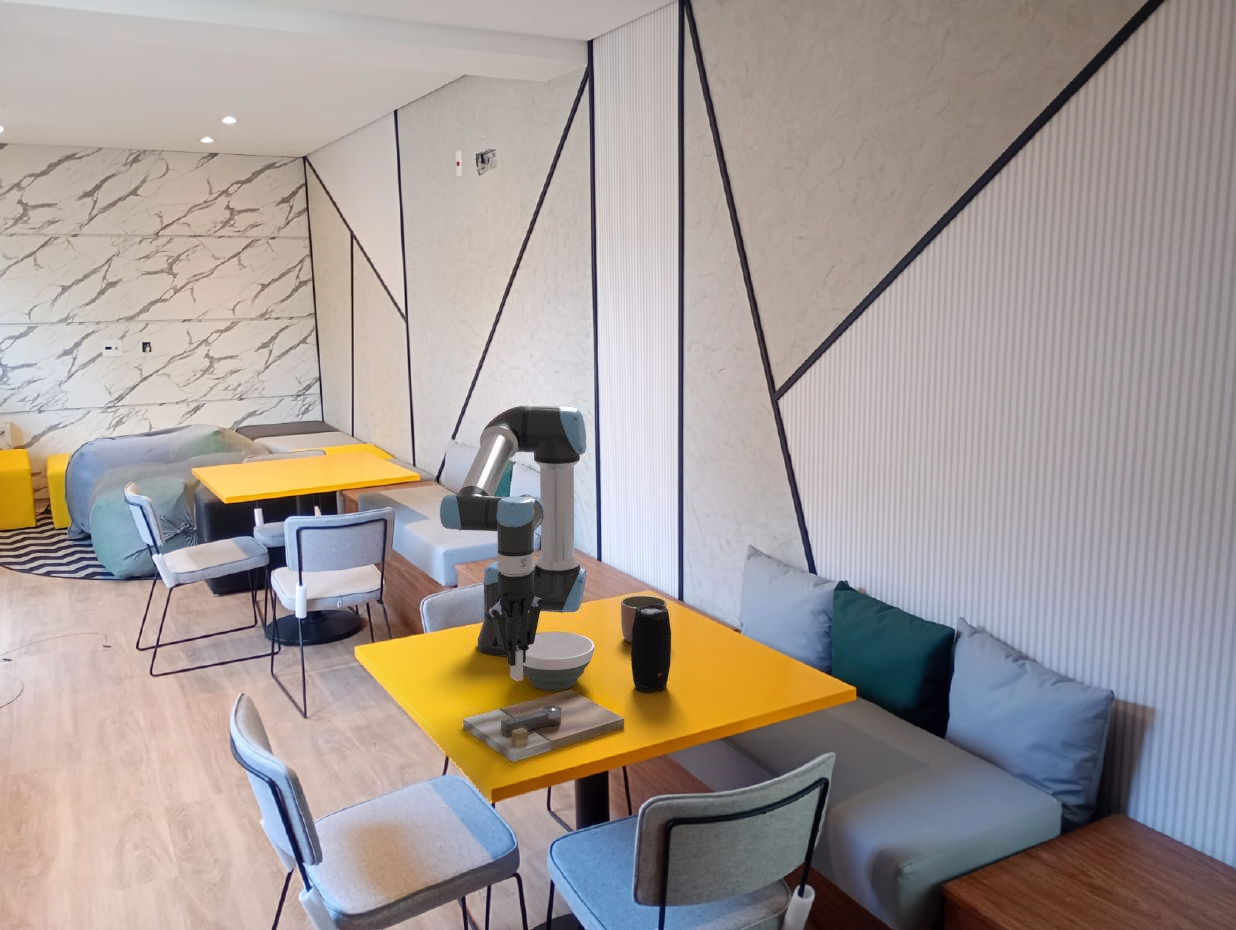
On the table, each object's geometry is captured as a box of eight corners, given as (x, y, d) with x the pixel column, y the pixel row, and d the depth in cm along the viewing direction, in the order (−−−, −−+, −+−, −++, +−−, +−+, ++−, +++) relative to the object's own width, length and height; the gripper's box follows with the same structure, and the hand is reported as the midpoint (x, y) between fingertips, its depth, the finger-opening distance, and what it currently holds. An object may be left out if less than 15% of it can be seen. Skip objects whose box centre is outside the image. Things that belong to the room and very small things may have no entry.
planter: (673, 638, 266) (674, 600, 264) (651, 651, 255) (651, 611, 254) (635, 630, 272) (636, 592, 271) (611, 642, 262) (612, 603, 260)
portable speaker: (671, 694, 227) (674, 613, 224) (632, 694, 226) (633, 614, 223) (667, 680, 235) (669, 602, 232) (628, 680, 234) (630, 602, 231)
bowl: (527, 703, 220) (527, 663, 218) (502, 674, 238) (502, 636, 236) (606, 691, 228) (607, 652, 226) (576, 663, 245) (576, 627, 244)
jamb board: (463, 727, 207) (462, 706, 206) (570, 697, 224) (570, 677, 223) (512, 762, 191) (512, 739, 190) (624, 727, 208) (624, 706, 207)
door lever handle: (554, 716, 207) (555, 703, 207) (564, 722, 204) (565, 710, 204) (499, 730, 200) (499, 718, 199) (508, 737, 196) (508, 724, 196)
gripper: (498, 581, 194) (499, 691, 199) (552, 570, 202) (552, 676, 207) (479, 572, 200) (480, 679, 205) (532, 562, 208) (532, 665, 213)
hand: (516, 678), depth 206 cm, fingers closed
